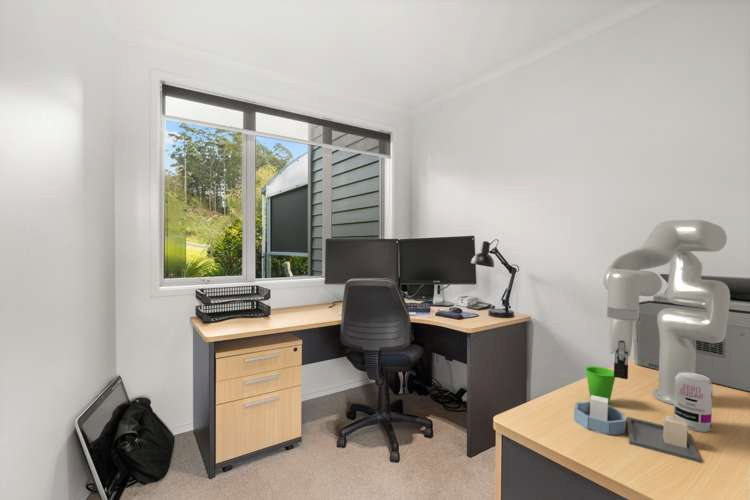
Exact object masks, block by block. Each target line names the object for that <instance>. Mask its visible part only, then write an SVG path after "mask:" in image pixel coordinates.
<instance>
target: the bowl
mask: <svg viewBox="0 0 750 500" xmlns="http://www.w3.org/2000/svg"><path fill="white" fill-rule="evenodd" d="M573 411H574V412H573V413H574V416H573V417H574V421H575V423H577V424H578V425H579V426H581V427H583V428H585V429H587V430H589V431H592V432H594V433H597V434H602V435H606V436H607V435H609V436H618V435H622V434H623V433H626V416H625V413H624V412H622V411H621V410H618V409H617V408H614V407H613V406H611V405H608V418H607V421H605V420H601V419H597V418H593V417H590V401H589V400H588V401H578V402H575V404H574V410H573Z"/></svg>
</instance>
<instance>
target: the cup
mask: <svg viewBox="0 0 750 500" xmlns="http://www.w3.org/2000/svg"><path fill="white" fill-rule="evenodd" d="M584 370H585V371H586V378H587V385H588V393H589V399H590V398H591V395H594V396H598V397H603V398H607V399H608V406H610V402H611V398H612V393H613V388H614V383H615V380H616V377H614V370H612V369H610V368H606V367H601V366H594V365H592V366H591V365H590V366H586V367H585V368H584Z"/></svg>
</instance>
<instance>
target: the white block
mask: <svg viewBox="0 0 750 500" xmlns="http://www.w3.org/2000/svg"><path fill="white" fill-rule="evenodd" d="M589 400H590V417H593V418H597V419H601V420H605V421H607V418H608V406H609V405H608V399H607V398H603V397H598V396H594V395H591V398H590V397H589Z"/></svg>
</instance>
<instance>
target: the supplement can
mask: <svg viewBox="0 0 750 500" xmlns="http://www.w3.org/2000/svg"><path fill="white" fill-rule="evenodd" d="M712 408H713V384H712V382H711V380H710V378H709V377H707V376H705V375H703V374H699V373H696V372H695V373H690V372H679V373H678V374H677V376H676V377H675V397H674V405H673V417H674V418H679V419H684V420H685V421H686V423H687V430H690V431H694V432H701V433H704V432H707V433H708V432H710V431H712V415H713V414H712V411H713V409H712Z"/></svg>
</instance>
